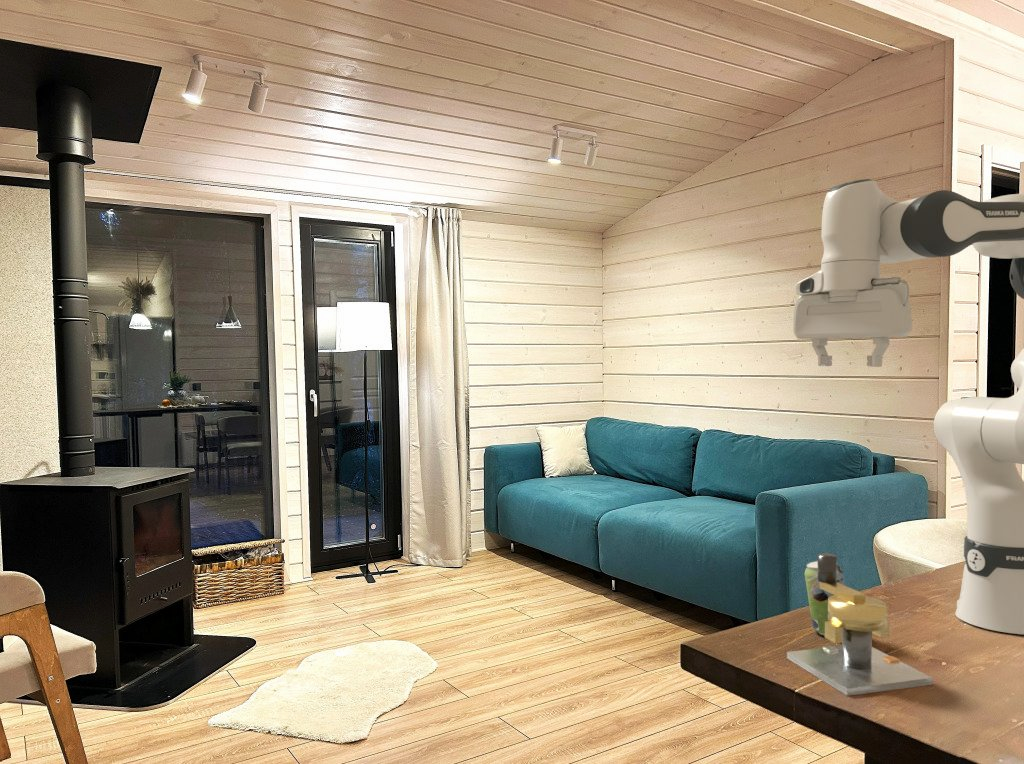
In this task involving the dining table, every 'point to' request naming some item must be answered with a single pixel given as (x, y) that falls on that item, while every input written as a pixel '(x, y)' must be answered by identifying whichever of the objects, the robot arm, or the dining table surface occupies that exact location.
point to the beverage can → (818, 596)
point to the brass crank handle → (849, 605)
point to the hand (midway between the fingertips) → (848, 366)
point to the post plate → (858, 677)
